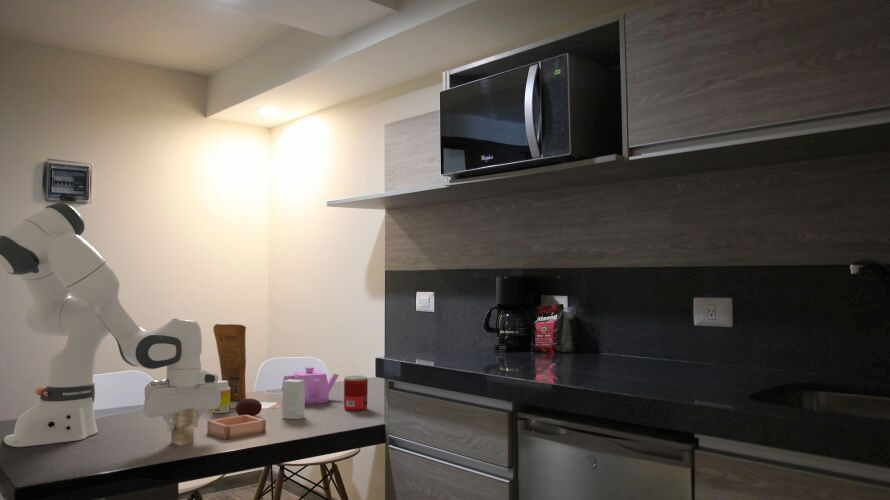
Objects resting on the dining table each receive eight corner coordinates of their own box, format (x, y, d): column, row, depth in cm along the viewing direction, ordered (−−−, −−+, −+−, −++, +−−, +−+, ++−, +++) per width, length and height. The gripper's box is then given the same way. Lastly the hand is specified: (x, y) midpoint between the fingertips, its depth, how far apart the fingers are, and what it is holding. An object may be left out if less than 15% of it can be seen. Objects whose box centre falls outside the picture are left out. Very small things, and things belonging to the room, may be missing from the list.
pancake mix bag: (236, 403, 233) (237, 325, 234) (210, 396, 245) (211, 323, 247) (253, 400, 238) (254, 324, 239) (226, 394, 250) (227, 322, 252)
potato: (251, 420, 204) (252, 401, 205) (229, 418, 207) (230, 399, 207) (265, 416, 211) (265, 397, 212) (244, 414, 214) (244, 396, 214)
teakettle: (301, 395, 249) (302, 363, 250) (340, 398, 244) (341, 365, 244) (276, 403, 233) (276, 369, 234) (317, 406, 228) (318, 371, 228)
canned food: (369, 410, 221) (370, 378, 222) (346, 412, 218) (347, 379, 219) (364, 406, 228) (364, 375, 229) (341, 407, 225) (342, 376, 226)
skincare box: (305, 417, 210) (305, 379, 211) (298, 419, 206) (299, 381, 206) (288, 415, 212) (288, 379, 212) (281, 418, 207) (282, 380, 208)
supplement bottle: (232, 412, 217) (233, 381, 218) (216, 414, 214) (216, 383, 214) (226, 409, 221) (227, 379, 222) (210, 411, 218) (210, 381, 218)
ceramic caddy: (225, 439, 180) (226, 426, 180) (207, 432, 187) (207, 420, 188) (265, 432, 189) (265, 420, 189) (246, 426, 196) (246, 414, 197)
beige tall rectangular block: (179, 445, 173) (179, 411, 174) (171, 442, 177) (172, 408, 177) (193, 442, 176) (194, 409, 177) (185, 439, 180) (186, 406, 180)
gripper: (149, 383, 168) (148, 437, 167) (223, 375, 182) (222, 424, 182) (140, 380, 172) (138, 433, 171) (213, 373, 187) (212, 421, 186)
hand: (182, 428), depth 177 cm, fingers open, 5 cm apart
